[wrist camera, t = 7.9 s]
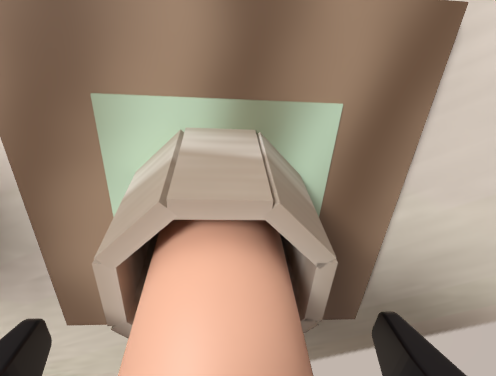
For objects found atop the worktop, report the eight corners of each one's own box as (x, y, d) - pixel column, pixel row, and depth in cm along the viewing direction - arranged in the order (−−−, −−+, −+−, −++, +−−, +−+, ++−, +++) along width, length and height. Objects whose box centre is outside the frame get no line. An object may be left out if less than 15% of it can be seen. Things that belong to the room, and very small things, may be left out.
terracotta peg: (273, 158, 13) (348, 401, 5) (270, 244, 15) (318, 504, 7) (162, 162, 13) (59, 421, 5) (175, 248, 15) (120, 521, 7)
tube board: (450, 1, 11) (638, 6, 6) (349, 304, 20) (394, 415, 14) (-38, -36, 10) (-317, -69, 5) (74, 309, 18) (16, 434, 13)
